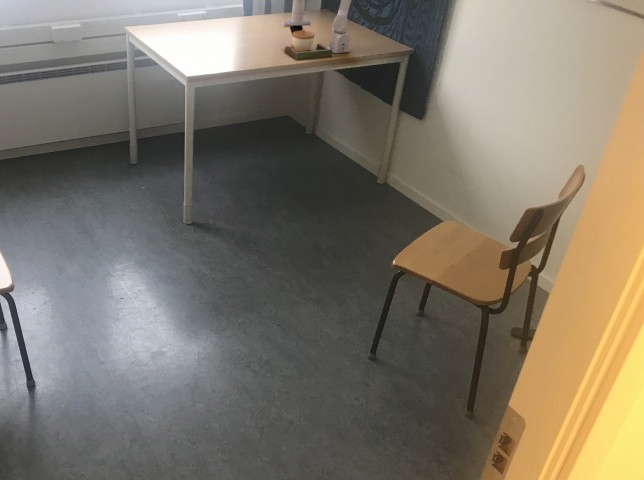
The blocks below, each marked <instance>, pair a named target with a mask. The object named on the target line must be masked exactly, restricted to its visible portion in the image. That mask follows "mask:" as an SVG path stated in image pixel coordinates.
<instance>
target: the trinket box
mask: <svg viewBox="0 0 644 480" xmlns="http://www.w3.org/2000/svg"><path fill="white" fill-rule="evenodd" d="M314 39H315V32H312V31H309V30H306V29H303V30H302V31H294V32H293V33H291V43H292V44H291V45H292V47H293V48H294V51H296V52H305V51H310V49H311V48H312V46H313V44H314Z"/></svg>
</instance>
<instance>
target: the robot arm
mask: <svg viewBox="0 0 644 480" xmlns="http://www.w3.org/2000/svg"><path fill="white" fill-rule="evenodd" d="M351 2H352V0H340V3H339V7H338V11H337V14H336V16H335V17H334V21H333V22H332V28H331V33H330V41H329V46H325V47H326V48H328V49H332V53H333V54H343V53H349V52H350V50H349V44H350V36H349V35H348V34H347V33H348V32H347V31H348V30H347V28H346V27H347V24H348V22H349V21H348V14H349V9H350V6H351ZM305 5H306V1H305V0H293V1H292V10H291V19H290V20H289V21H283V22H282V28H283V29H285V28H289V29H290V32H291V34H292V33H293V32H294V31H303V30H304V26H308V27H310V26H311V25H312V24H311V23H312V21H311V20H309V19H308V20H304V15H305Z"/></svg>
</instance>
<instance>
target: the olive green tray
mask: <svg viewBox="0 0 644 480" xmlns="http://www.w3.org/2000/svg"><path fill="white" fill-rule="evenodd" d="M326 47H327V46H325V45H323V44H321V43H317V44H316V50H308V51H305V52H299V51H296V50H295V49H293V48H291V47H290V46H285V47H284V53H286V54H287V55H288V56H290V57H291V58H293V59H294V60H296V61H297V60H309V59H317V58H328V57H332V56H333V52H332V49H328V48H326Z"/></svg>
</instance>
